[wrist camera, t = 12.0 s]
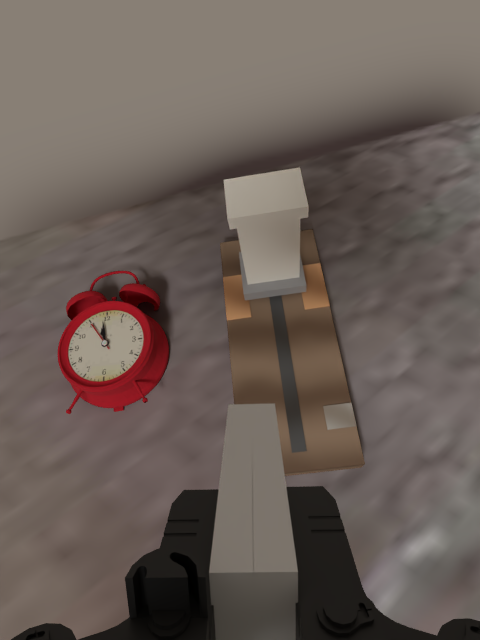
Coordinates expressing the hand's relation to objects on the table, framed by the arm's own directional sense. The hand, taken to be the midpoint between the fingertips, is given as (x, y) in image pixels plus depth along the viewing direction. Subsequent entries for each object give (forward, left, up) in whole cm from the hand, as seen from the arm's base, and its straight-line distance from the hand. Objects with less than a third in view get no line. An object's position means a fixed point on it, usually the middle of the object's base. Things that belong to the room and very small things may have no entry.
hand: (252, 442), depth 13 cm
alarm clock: (-21, -6, -24) cm, 32 cm away
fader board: (-11, +8, -24) cm, 27 cm away
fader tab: (-17, +11, -21) cm, 29 cm away
